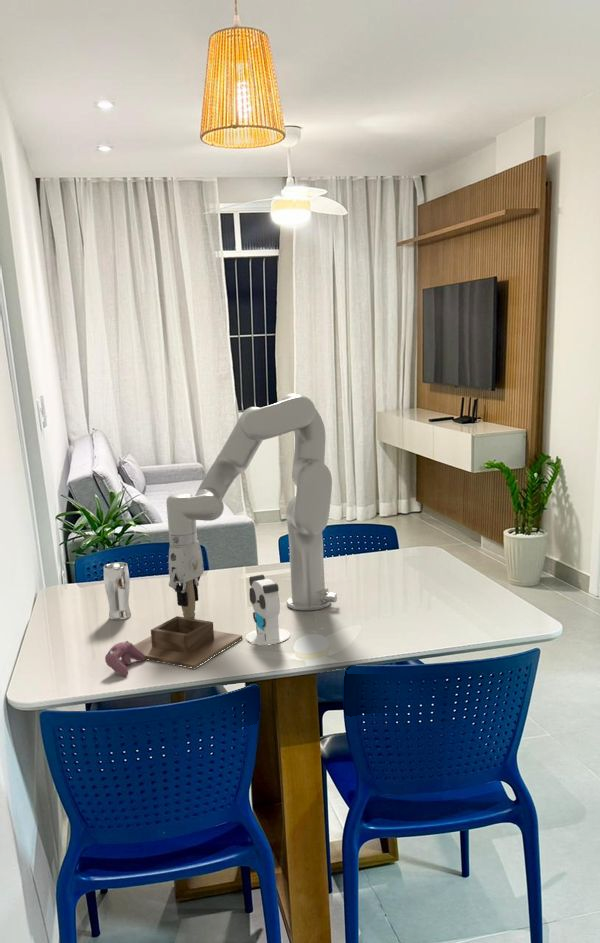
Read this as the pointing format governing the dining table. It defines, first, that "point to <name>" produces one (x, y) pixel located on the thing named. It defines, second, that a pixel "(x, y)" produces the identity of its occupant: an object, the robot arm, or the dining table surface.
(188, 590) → the handle
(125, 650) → the video game controller
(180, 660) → the holder
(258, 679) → the dining table surface
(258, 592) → the panda figurine
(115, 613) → the beer glass
